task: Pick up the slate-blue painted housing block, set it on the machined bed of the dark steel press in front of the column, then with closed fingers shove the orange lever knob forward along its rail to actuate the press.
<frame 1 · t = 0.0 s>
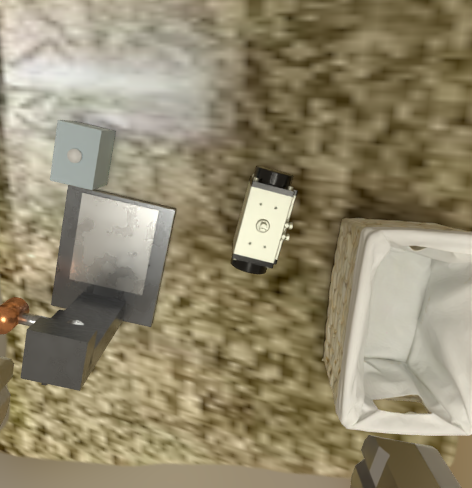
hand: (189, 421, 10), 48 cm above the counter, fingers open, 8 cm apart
pneumatic valve: (260, 209, 57), on the counter
lever: (23, 318, 51), point 9 cm above the counter, slide at 0.0 cm
housing: (92, 153, 55), on the counter
press: (113, 256, 59), on the counter
storage basket: (381, 292, 60), on the counter
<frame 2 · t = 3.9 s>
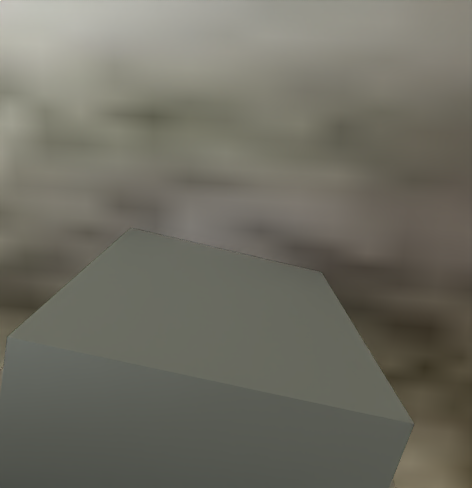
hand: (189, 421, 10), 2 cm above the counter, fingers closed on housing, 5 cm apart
housing: (198, 369, 12), on the counter, touching gripper
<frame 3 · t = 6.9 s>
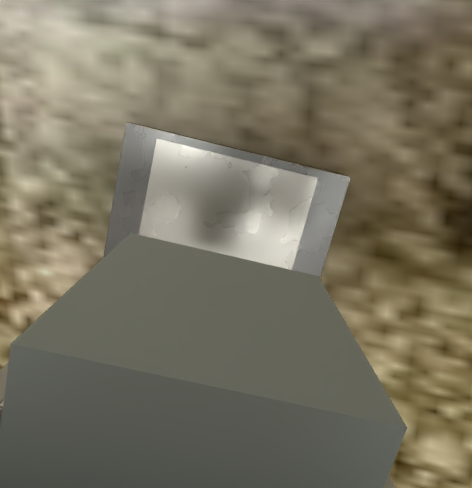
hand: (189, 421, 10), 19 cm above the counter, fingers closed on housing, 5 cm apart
housing: (197, 372, 12), point 17 cm above the counter, touching gripper
press: (210, 273, 29), on the counter
when the fingers open (5 cm above the counter, at t = 9.4 s): housing stays where it is, resting on press.
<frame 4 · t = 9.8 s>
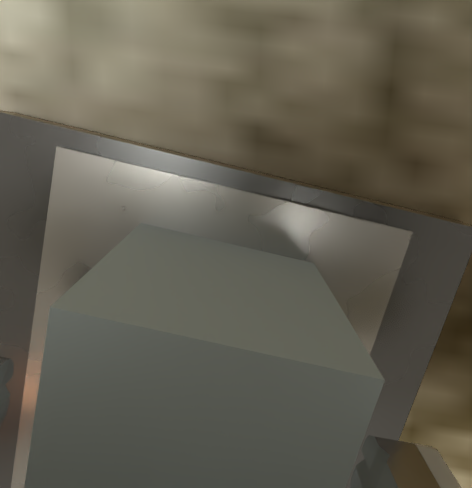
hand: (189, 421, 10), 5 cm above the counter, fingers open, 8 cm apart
housing: (201, 352, 13), point 1 cm above the counter, touching press
press: (185, 406, 15), on the counter
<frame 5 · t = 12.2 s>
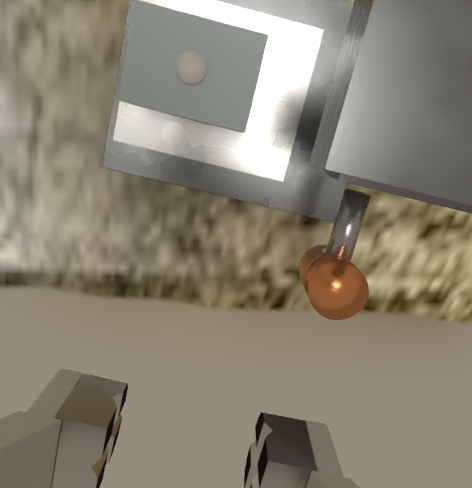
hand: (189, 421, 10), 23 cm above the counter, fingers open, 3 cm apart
lever: (339, 250, 23), point 9 cm above the counter, slide at 0.0 cm
housing: (201, 81, 28), point 1 cm above the counter, touching press
press: (244, 95, 30), on the counter
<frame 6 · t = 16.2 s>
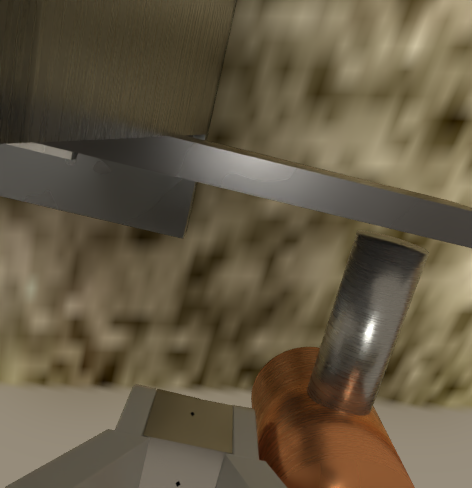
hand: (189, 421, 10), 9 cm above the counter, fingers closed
lever: (343, 382, 9), point 9 cm above the counter, slide at 6.0 cm, touching gripper
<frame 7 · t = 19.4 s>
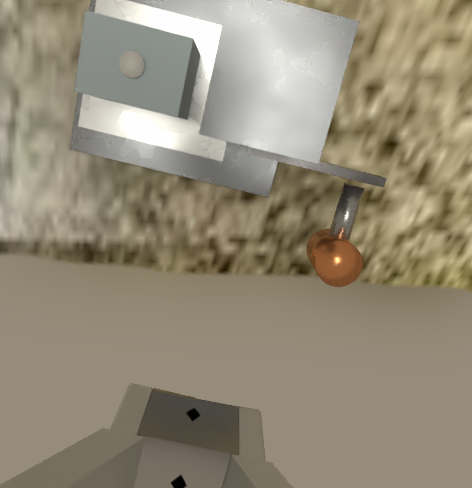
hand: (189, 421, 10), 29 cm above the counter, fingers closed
lever: (340, 232, 29), point 9 cm above the counter, slide at 6.0 cm
housing: (150, 77, 34), point 1 cm above the counter, touching press
press: (189, 89, 35), on the counter
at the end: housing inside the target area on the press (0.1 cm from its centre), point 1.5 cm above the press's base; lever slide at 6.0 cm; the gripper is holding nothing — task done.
